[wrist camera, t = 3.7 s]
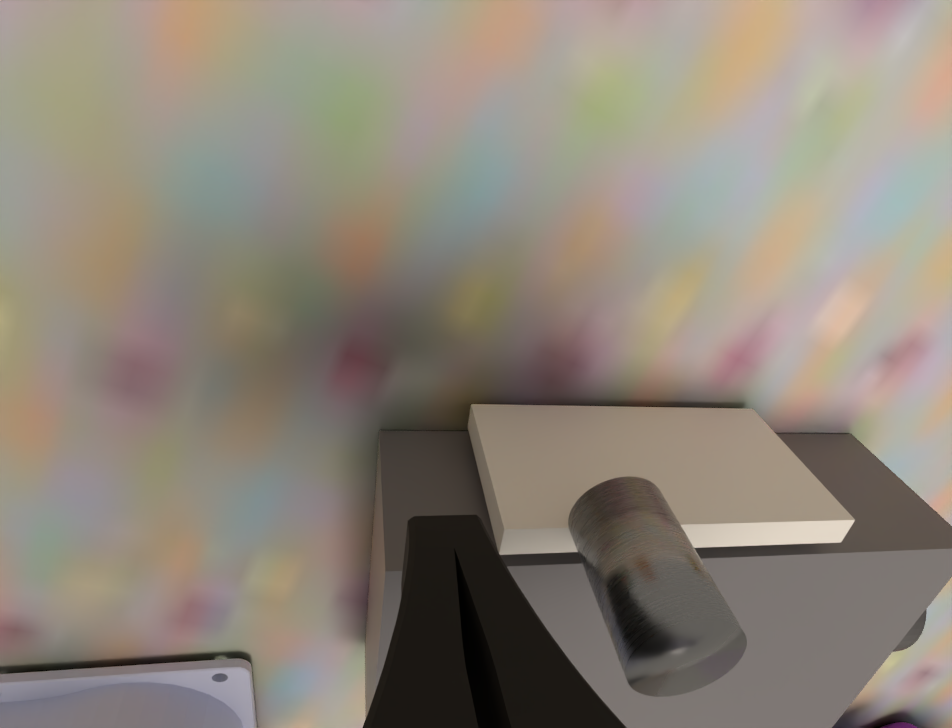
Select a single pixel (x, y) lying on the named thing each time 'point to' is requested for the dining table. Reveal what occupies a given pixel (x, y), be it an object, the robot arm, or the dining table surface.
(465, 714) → the robot arm
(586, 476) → the side door
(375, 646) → the camera housing
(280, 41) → the dining table surface
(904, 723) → the toy camera
